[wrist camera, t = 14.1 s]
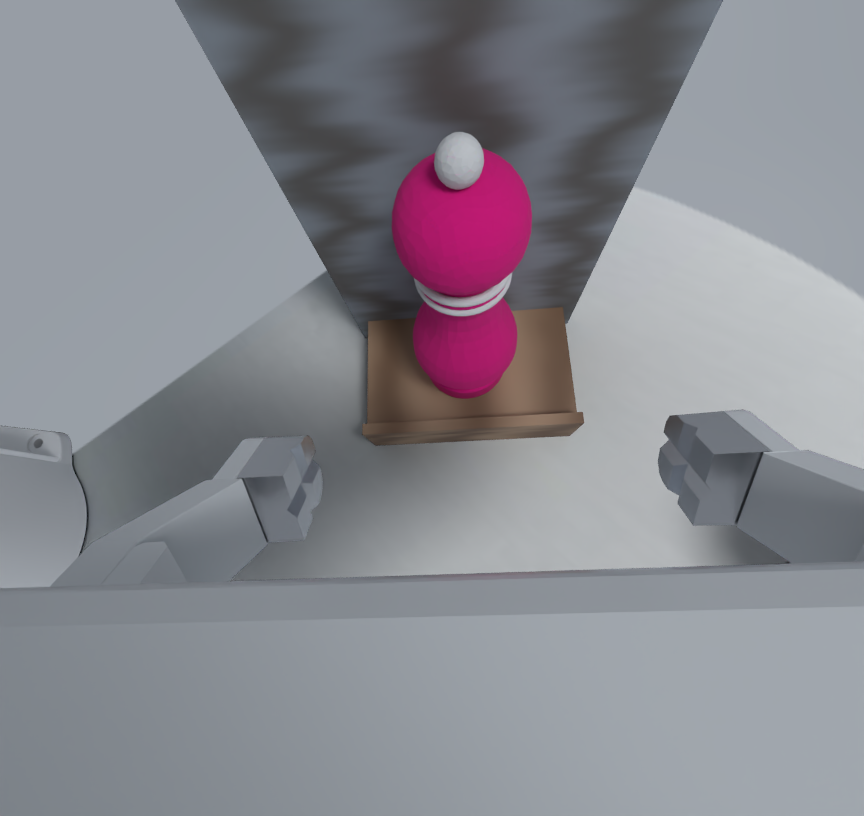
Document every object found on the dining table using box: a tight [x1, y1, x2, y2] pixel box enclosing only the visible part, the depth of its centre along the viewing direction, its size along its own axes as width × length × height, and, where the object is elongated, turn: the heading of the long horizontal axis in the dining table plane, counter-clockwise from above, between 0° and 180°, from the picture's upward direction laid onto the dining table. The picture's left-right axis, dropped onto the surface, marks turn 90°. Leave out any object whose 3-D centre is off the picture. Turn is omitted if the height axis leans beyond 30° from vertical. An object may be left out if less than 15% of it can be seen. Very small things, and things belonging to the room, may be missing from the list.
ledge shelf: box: [175, 0, 723, 446], centre depth 23 cm, size 18×11×28 cm, turn 92°
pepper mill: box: [392, 132, 532, 399], centre depth 24 cm, size 7×7×20 cm
